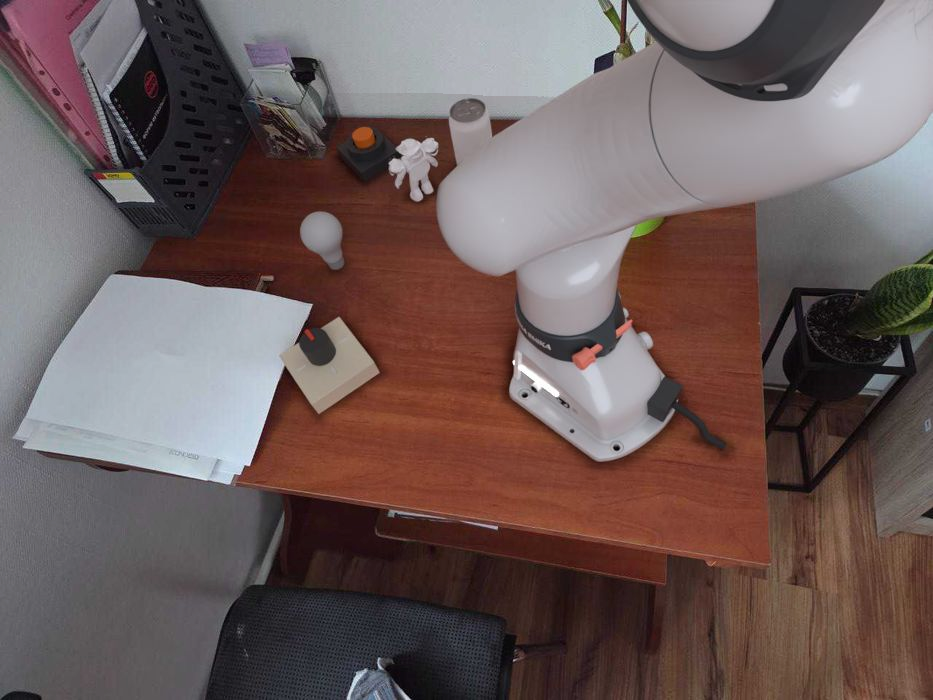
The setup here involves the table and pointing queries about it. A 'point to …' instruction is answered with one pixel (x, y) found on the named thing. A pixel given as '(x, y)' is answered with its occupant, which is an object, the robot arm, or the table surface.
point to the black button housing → (369, 155)
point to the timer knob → (317, 346)
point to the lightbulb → (323, 237)
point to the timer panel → (331, 368)
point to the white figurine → (415, 165)
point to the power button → (363, 137)
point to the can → (468, 126)
